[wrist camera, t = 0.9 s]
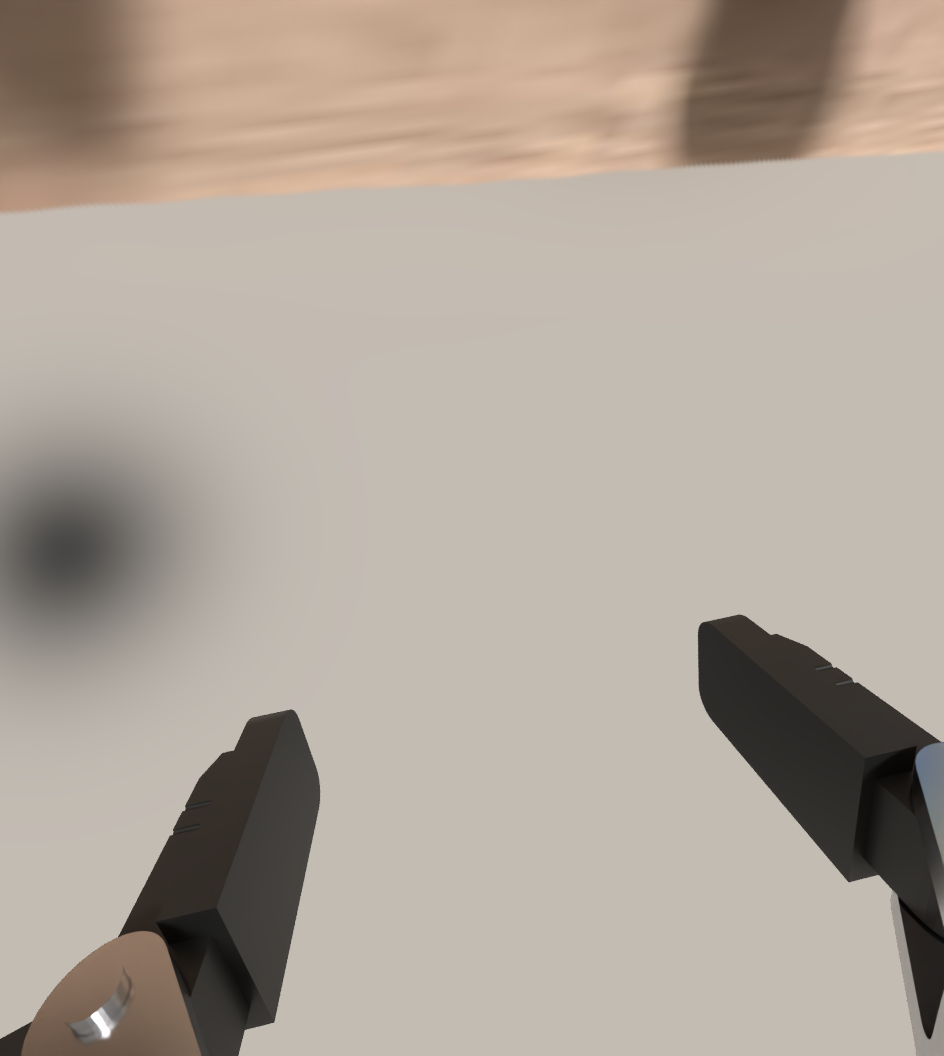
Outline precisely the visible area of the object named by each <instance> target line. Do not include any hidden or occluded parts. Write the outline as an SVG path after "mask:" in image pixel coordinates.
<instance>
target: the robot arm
mask: <svg viewBox="0 0 944 1056" xmlns="http://www.w3.org/2000/svg"><path fill="white" fill-rule="evenodd" d="M698 661H699V662H698V664H699V665H698V667H699V691H700V696H701V700H702V703H703V705H704V707H705V709H706V712H707V713H708V715H709V717H710V718H711V719H712V721H713V722H714V723H715V724H716V726H717V727H718V728H719V729H720V730H721V731H722V733H723V734H724V735H725V736H726V737H727V738H728V740H729V741H730V742H731V743H732V744H733V746H734V747H735V748H736V749H737V750H738V752H739V753H740V754H741V755H742V756H743V757H744V759H745V760H746V761H747V762H748V763H749V765H750V766H751V767H752V768H753V769H754V771H755V772H756V773H757V774H758V775H759V776H760V778H761V779H762V780H763V781H764V782H765V784H766V785H767V786H768V787H769V788H770V789H771V791H772V792H773V793H774V794H775V795H776V797H777V798H778V799H779V800H780V801H781V803H782V804H783V805H784V806H785V807H786V808H787V810H788V811H789V812H790V813H791V814H792V815H793V817H794V818H795V819H796V820H797V821H798V823H799V824H800V825H801V826H802V827H803V829H804V830H805V831H806V832H807V833H808V835H809V836H810V837H811V838H812V839H813V841H814V842H815V843H816V844H817V845H818V846H819V848H820V849H821V850H822V851H823V852H824V854H825V855H826V856H827V857H828V858H829V860H830V861H831V862H832V863H833V864H834V865H835V867H836V868H837V869H838V870H839V871H840V873H841V874H842V875H843V876H844V877H845V878H846V880H847V881H848V882H852V881H855V880H860V879H863V878H868V877H871V876H875V875H879V876H880V877H881V878H882V879H883V880H884V881H885V882H886V883H887V884H888V885H889V887H890V888H891V889H892V895H891V910H892V916H893V921H894V927H895V933H896V939H897V944H898V950H899V955H900V961H901V967H902V973H903V978H904V984H905V990H906V996H907V1001H908V1007H909V1013H910V1018H911V1024H912V1030H913V1036H914V1041H915V1047H916V1055H917V1056H944V742H940V741H939V740H938V739H936V738H935V737H933V736H932V735H931V734H929V733H928V732H926V731H925V730H924V729H922V728H921V727H919V726H918V725H916V724H915V723H914V722H912V721H911V720H910V719H908V718H907V717H905V716H904V715H903V714H901V713H900V712H898V711H897V710H896V709H894V708H893V707H891V706H890V705H889V704H887V703H886V702H884V701H883V700H881V699H880V698H879V697H877V696H876V695H875V694H873V693H872V692H870V691H869V690H868V689H866V688H865V687H863V686H862V685H861V684H859V683H854V682H853V680H852V678H851V677H849V676H848V675H847V674H845V673H844V672H842V671H841V670H840V669H838V668H833V667H832V664H831V663H830V662H828V661H827V660H825V659H824V658H823V657H821V656H820V655H818V654H817V653H816V652H814V651H813V650H812V649H810V648H809V647H807V646H805V645H803V644H800V643H797V642H795V641H793V640H790V639H788V638H785V637H783V636H780V635H778V634H774V635H770V634H768V633H767V632H766V631H764V630H763V629H762V628H760V627H759V626H758V625H756V624H755V623H754V622H752V621H751V620H750V619H748V618H747V617H745V616H743V615H735V616H731V617H726V618H722V619H717V620H712V621H707V622H703V623H701V625H700V626H699V630H698ZM319 804H320V785H319V777H318V772H317V769H316V766H315V763H314V760H313V758H312V755H311V752H310V749H309V746H308V743H307V740H306V738H305V735H304V732H303V729H302V726H301V723H300V721H299V718H298V716H297V714H296V713H295V711H294V710H286V711H282V712H277V713H273V714H268V715H263V716H258V717H254V718H251V719H249V721H248V722H247V724H246V726H245V728H244V730H243V732H242V734H241V737H240V739H239V741H238V743H237V745H236V747H235V750H234V751H230V752H226V753H222V754H221V755H220V756H219V757H218V759H217V760H216V761H215V762H214V763H213V764H212V765H211V766H210V767H209V768H208V770H207V771H206V772H205V773H204V774H203V775H202V776H201V777H200V778H199V780H198V782H197V784H196V786H195V788H194V790H193V792H192V794H191V796H190V798H189V800H188V802H187V803H186V805H185V807H186V810H185V811H183V812H182V813H181V815H180V817H179V819H178V821H177V823H176V825H175V827H174V829H173V831H174V833H173V835H171V836H170V837H169V839H168V841H167V843H166V845H165V847H164V848H163V850H162V852H161V854H160V856H159V858H158V860H157V862H156V864H155V866H154V868H153V870H152V872H151V874H150V876H149V878H148V880H147V882H146V884H145V886H144V888H143V890H142V892H141V893H140V895H139V897H138V899H137V901H136V903H135V905H134V907H133V909H132V911H131V913H130V915H129V917H128V919H127V921H126V923H125V925H124V927H123V929H122V931H121V933H120V935H119V936H118V938H116V939H113V940H112V941H110V942H108V943H106V944H104V945H103V946H101V947H100V948H98V949H97V950H95V951H94V952H92V953H91V954H90V955H88V956H87V957H86V958H85V959H83V960H82V961H81V962H80V963H79V964H77V965H76V966H75V967H74V968H73V969H72V970H71V971H70V972H69V973H68V974H67V975H66V976H65V977H64V978H63V979H62V980H61V982H60V983H59V984H58V985H57V986H56V987H55V989H54V990H53V991H52V992H51V994H50V995H49V996H48V997H47V999H46V1000H45V1002H44V1003H43V1005H42V1006H41V1008H40V1009H39V1011H38V1012H37V1014H36V1016H35V1018H34V1020H33V1021H32V1022H30V1023H29V1024H27V1025H25V1026H23V1027H21V1028H19V1029H18V1030H16V1031H14V1032H12V1033H10V1034H9V1035H7V1036H5V1037H3V1038H1V1039H0V1056H238V1055H239V1050H240V1047H241V1042H242V1039H243V1035H244V1031H245V1030H246V1029H250V1028H254V1027H258V1026H262V1025H266V1024H270V1023H274V1021H275V1016H276V1011H277V1006H278V1002H279V997H280V992H281V987H282V982H283V978H284V973H285V968H286V963H287V959H288V953H289V949H290V944H291V939H292V934H293V930H294V925H295V920H296V915H297V910H298V906H299V901H300V896H301V892H302V887H303V882H304V877H305V872H306V867H307V862H308V858H309V853H310V848H311V843H312V838H313V834H314V829H315V824H316V819H317V814H318V810H319Z"/></svg>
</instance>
